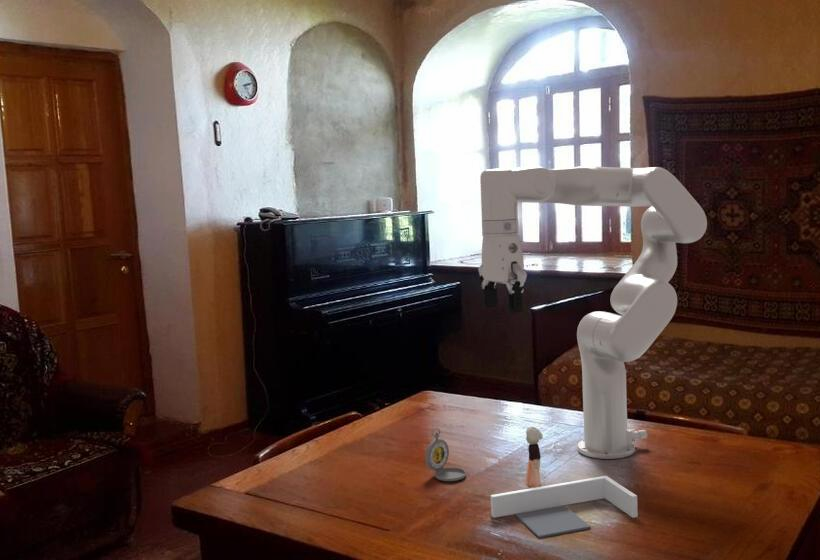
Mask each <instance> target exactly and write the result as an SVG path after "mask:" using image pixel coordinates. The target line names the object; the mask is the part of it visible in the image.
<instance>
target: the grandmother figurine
mask: <svg viewBox="0 0 820 560" xmlns="http://www.w3.org/2000/svg"><path fill="white" fill-rule="evenodd" d="M525 433H526V434H525V435H526V437H525V440H526V442H527V443H528V444H529V445H528V462H527V464H526V465H527V467H526V471H525V472H526V473H525V483H524V484H525V486H526V487H527V486H529V487H528V489H530V488H536V487H542V483H541V476H540V470H541V458H542V456H541V451H540V446H539V444H538V443H539V441H540V440H542V439H543V436H544V435H543V433H542V432H541V430H540V429H539V428H537V427H535V426H529V427H527V428H526V430H525Z"/></svg>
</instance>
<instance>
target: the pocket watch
mask: <svg viewBox="0 0 820 560" xmlns="http://www.w3.org/2000/svg"><path fill="white" fill-rule="evenodd" d="M435 430H438V432H437V431H436V432H435V433H434V431H435ZM440 434H441V430H440V428H438V427H437V428H436V427H435V428H433V429H432V430H431V435H432V436H433V437H434V438H435V439H434V440H432V441H431V442H430V443H429V444H428V446H427V448H426V451H425V456H424V457H425V464H426V465H427V467H428V468H429V469H430V470H432V471H435V472H434V478H436V479H437V480H439V481H443V482H455V481H457V482H458V481H460V480H463V479H464V478H465V477H466V476H467V471H466V470H465V469H464V468H461V467H445V466H446V464H447V462H448V459H449V457H450V456H449V455H450V451H449V450H450V449H449V445H448V443H447V442H446V441H445V440H444V439H440V438H439V436H440ZM435 461H436V462H435Z"/></svg>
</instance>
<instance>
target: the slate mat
mask: <svg viewBox="0 0 820 560" xmlns="http://www.w3.org/2000/svg"><path fill="white" fill-rule="evenodd" d="M515 517H516V518H517V519H518V520H519V521H520V522H521V523H522V524H523V525H525V527H526V528H528V529H529V531H531V533H533V534H534V535H535V536H536V537H537V538H538V539H541V538H546V537H552V536H558V535H563V534H569V533H573V532H580V531H583V530H590V529H591V528H592V527H591V525H590V524H589V523H588V522H587V521H585V520H583V519H582V518H581V517H580V516H579V515H577V514H576V513H575V512H574V511H573V510H571V509H570V508H568V507H567V505H563V506H557V507H552V508H546V509H540V510H535V511H529V512H523V513H518V514H515Z"/></svg>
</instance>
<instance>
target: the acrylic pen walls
mask: <svg viewBox="0 0 820 560" xmlns="http://www.w3.org/2000/svg"><path fill="white" fill-rule="evenodd" d="M601 499H605V500H607V501H608V502H609V503H611V504H612V505H614V506H615V507H617V508H618V509H620V510H621V511H622V512H624V513H625V514H627V515H628V516H629V517H631V518H632V519H633V518H638V517H639V516H638V495H636V494H635V493H634V492H632V491H630V490H629V489H627V488H626V487H624V486H623V485H622V484H619V483H618V482H617V481H615V480H614V479H612V478H611V477H609V476H607V475H602V476H596V477H595V476H594V477H589V478H584V479H583V478H582V479H579V480H578V479H577V480H574V481H573V480H572V481H567V482H562V483H555V484H550V485H549V484H548V485H544V486H543V485H541V487H536V488H530V489H529V488H525V489H519V490H512V491H505V492H501V493H495V494H490V510H491V511H490V512H491V514H490V515H491V517H492V518H493V519H494V518H499V517H505V516H512V515H516V514H520V513H525V512H531V511H536V510H542V509H548V508H553V507H559V506H568V505H573V504H579V503H585V502H589V501H596V500H601Z"/></svg>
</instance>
